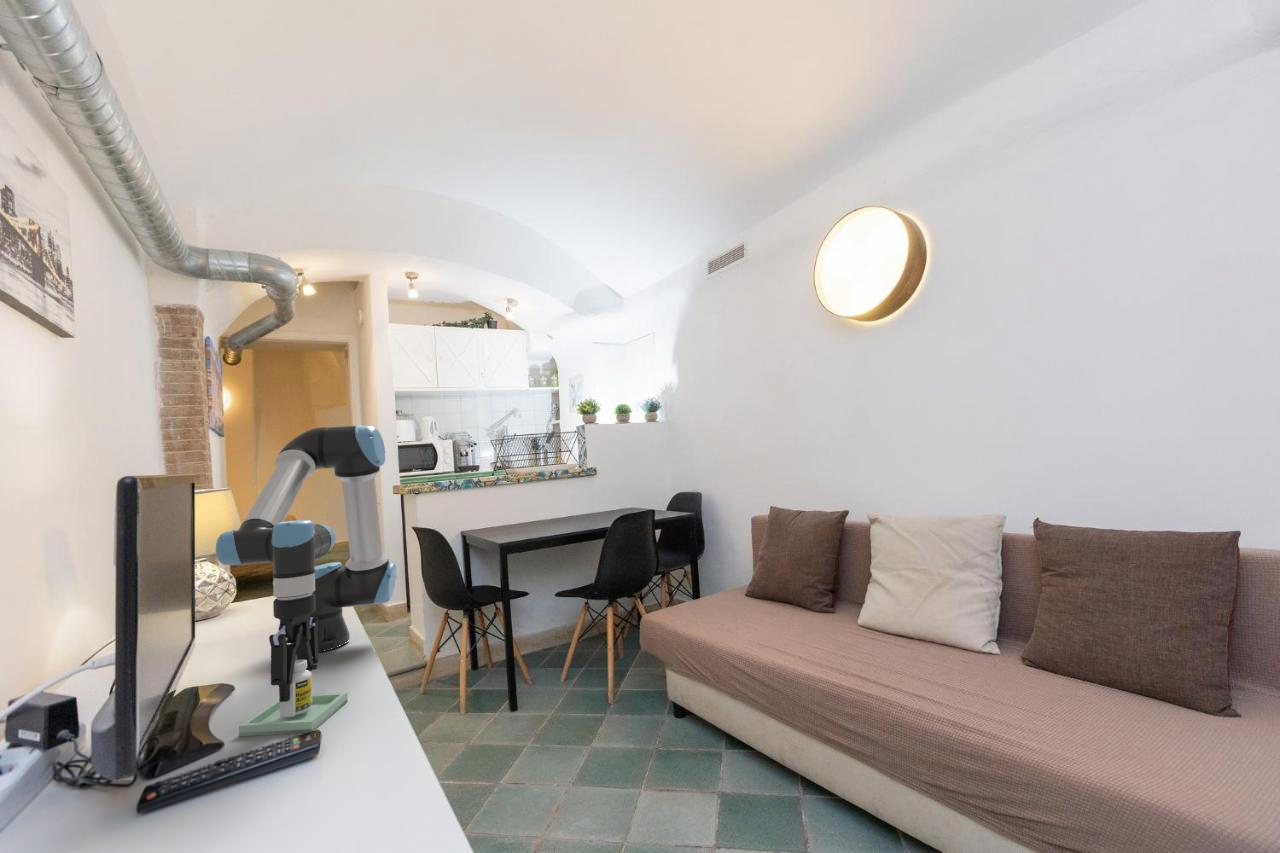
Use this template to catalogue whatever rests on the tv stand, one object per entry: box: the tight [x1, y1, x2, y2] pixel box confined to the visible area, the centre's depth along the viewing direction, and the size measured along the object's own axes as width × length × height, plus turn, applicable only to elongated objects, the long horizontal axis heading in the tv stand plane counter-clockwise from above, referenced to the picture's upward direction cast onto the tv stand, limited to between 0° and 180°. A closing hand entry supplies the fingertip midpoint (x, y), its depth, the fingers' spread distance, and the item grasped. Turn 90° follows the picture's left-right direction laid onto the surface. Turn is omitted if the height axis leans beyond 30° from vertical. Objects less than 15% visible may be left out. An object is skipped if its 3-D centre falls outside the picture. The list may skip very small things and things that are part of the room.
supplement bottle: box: [292, 659, 311, 715], centre depth 118 cm, size 5×5×10 cm
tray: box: [238, 692, 349, 738], centre depth 118 cm, size 14×14×2 cm
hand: (296, 709), depth 118 cm, fingers closed on supplement bottle, 5 cm apart
